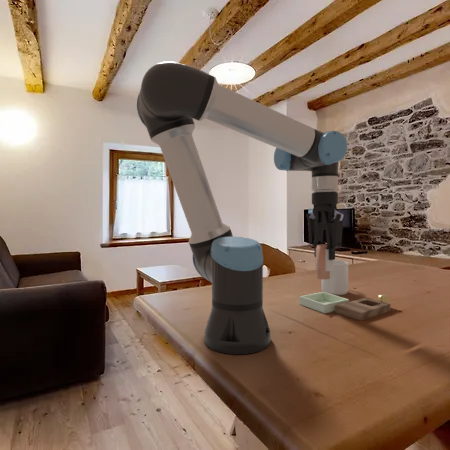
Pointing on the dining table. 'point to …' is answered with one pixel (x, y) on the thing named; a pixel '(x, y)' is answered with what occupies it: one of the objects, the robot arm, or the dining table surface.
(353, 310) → the wooden block with recess
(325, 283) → the mug
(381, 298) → the bench dog
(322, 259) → the pink tapered rounded cylinder
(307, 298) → the tray
